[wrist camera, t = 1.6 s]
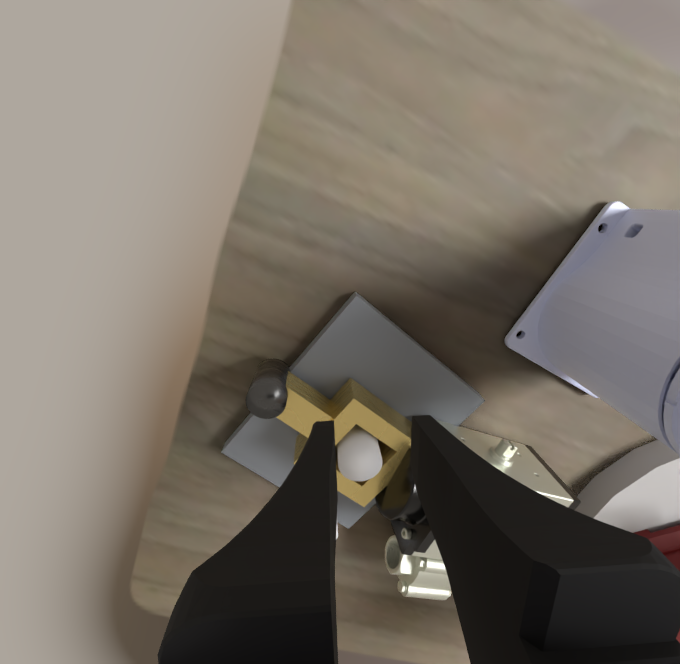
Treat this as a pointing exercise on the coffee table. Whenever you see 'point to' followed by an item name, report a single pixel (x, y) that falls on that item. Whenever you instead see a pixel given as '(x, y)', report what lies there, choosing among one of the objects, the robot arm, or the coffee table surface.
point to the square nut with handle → (344, 408)
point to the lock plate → (374, 375)
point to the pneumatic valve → (412, 525)
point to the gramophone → (640, 497)
